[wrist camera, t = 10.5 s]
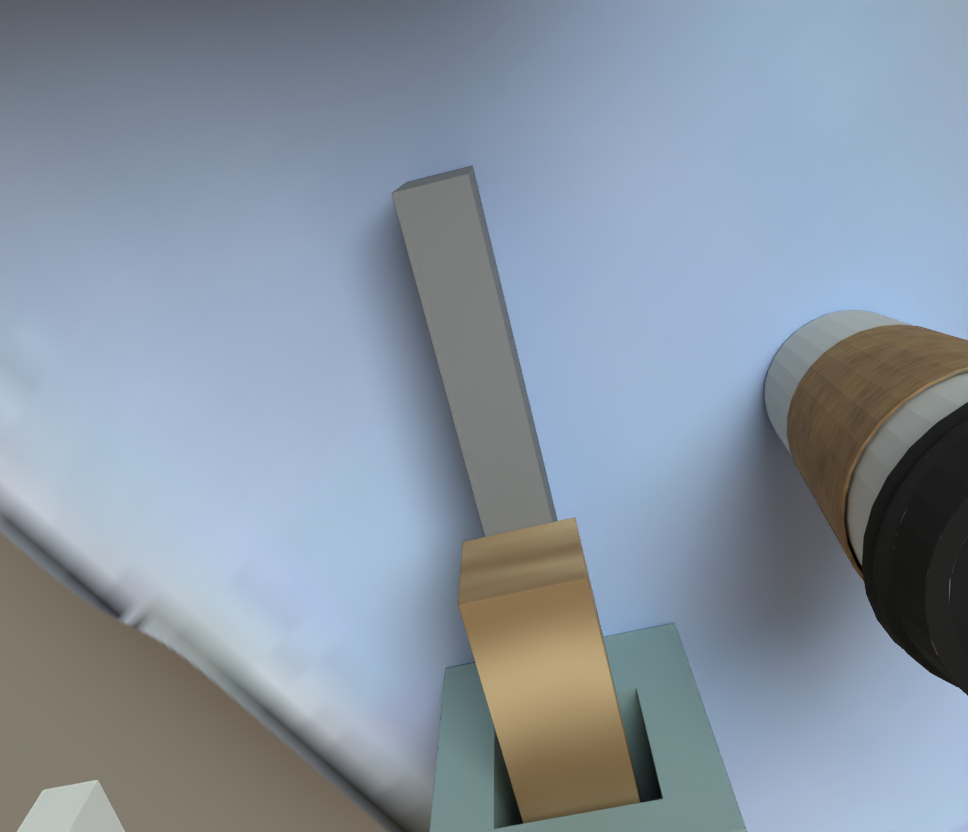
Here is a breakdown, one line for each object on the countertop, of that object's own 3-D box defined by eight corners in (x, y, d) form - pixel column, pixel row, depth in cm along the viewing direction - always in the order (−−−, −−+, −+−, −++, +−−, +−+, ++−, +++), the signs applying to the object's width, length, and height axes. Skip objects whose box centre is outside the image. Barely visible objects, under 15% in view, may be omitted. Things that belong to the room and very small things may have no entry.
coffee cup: (792, 523, 34) (999, 810, 20) (690, 354, 32) (844, 544, 18) (989, 416, 33) (1366, 646, 19) (898, 229, 30) (1248, 329, 16)
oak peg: (462, 541, 30) (458, 604, 26) (575, 517, 29) (586, 578, 26) (548, 841, 34) (555, 931, 31) (647, 823, 34) (666, 913, 30)
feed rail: (406, 182, 30) (391, 193, 26) (472, 165, 30) (468, 173, 26) (504, 550, 35) (505, 610, 31) (561, 538, 35) (570, 596, 30)
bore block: (445, 668, 37) (424, 884, 27) (674, 623, 36) (745, 828, 26) (489, 810, 39) (485, 1058, 29) (704, 771, 39) (780, 1013, 28)
